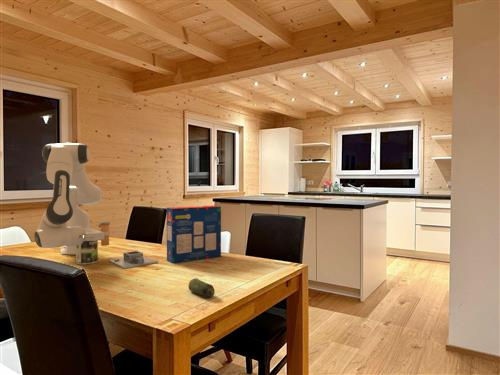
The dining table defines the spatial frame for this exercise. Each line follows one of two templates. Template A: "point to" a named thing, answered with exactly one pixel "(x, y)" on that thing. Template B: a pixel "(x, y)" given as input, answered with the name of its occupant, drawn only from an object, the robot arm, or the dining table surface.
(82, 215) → the robot arm
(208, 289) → the vegetable
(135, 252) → the grey square base plate
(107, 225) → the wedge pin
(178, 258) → the blue board game box
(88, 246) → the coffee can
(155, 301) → the dining table surface
